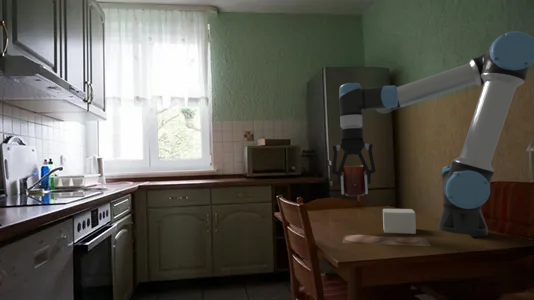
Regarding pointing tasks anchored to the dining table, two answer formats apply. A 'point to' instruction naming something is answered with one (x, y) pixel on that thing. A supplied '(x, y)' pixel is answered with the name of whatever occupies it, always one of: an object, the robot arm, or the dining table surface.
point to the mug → (354, 180)
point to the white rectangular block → (399, 221)
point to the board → (385, 240)
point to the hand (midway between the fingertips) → (354, 193)
